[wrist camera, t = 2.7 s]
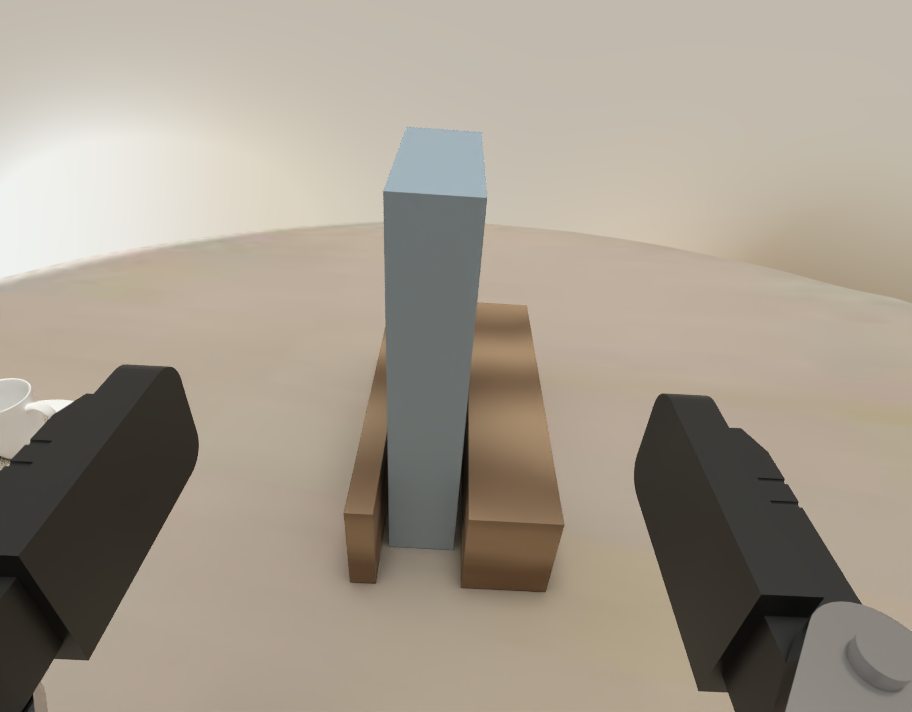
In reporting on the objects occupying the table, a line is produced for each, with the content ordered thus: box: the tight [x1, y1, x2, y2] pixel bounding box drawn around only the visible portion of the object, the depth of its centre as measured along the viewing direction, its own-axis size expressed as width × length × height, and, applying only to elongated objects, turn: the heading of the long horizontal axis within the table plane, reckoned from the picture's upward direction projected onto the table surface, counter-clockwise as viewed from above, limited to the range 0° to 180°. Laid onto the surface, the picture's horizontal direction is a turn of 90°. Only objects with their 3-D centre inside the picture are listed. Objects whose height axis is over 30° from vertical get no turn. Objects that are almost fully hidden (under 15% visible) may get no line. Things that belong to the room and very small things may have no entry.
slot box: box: [344, 303, 564, 592], centre depth 32 cm, size 18×9×5 cm, turn 179°
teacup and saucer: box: [0, 378, 74, 459], centre depth 30 cm, size 9×8×4 cm
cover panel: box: [383, 127, 487, 550], centre depth 25 cm, size 8×3×18 cm, turn 179°
